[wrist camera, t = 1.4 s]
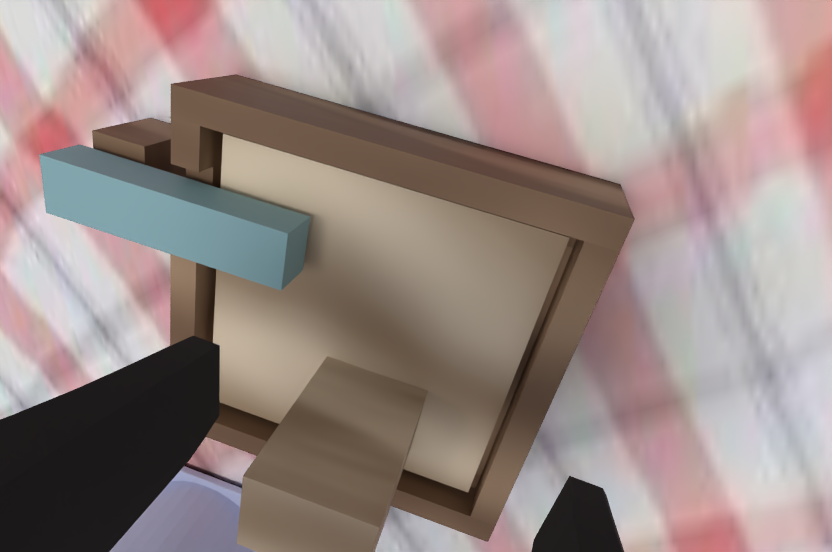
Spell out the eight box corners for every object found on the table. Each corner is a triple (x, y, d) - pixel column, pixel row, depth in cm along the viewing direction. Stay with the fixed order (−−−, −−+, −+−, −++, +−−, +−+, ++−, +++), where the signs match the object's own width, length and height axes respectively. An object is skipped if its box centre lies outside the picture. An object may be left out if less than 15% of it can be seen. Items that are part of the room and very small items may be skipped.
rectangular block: (302, 270, 18) (281, 290, 16) (84, 198, 19) (46, 212, 17) (310, 216, 17) (288, 233, 16) (80, 144, 18) (39, 154, 16)
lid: (470, 481, 21) (438, 649, 16) (218, 390, 23) (101, 514, 17) (569, 230, 16) (576, 344, 10) (232, 130, 17) (71, 181, 12)
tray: (496, 473, 24) (487, 541, 21) (154, 351, 26) (97, 396, 23) (620, 184, 17) (634, 218, 14) (149, 50, 19) (69, 54, 16)
